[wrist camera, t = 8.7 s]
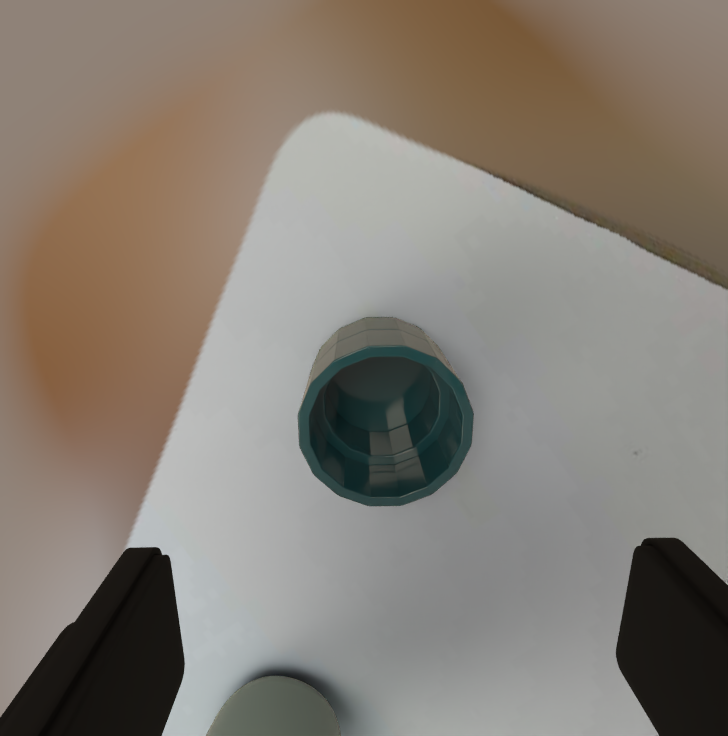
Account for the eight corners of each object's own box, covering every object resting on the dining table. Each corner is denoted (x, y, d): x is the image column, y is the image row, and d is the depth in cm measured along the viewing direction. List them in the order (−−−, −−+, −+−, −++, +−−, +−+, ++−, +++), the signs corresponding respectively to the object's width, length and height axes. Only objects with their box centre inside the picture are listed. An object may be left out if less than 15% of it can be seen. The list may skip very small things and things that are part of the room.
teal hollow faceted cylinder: (379, 285, 21) (386, 307, 16) (472, 380, 22) (508, 428, 17) (283, 382, 22) (261, 431, 17) (378, 465, 24) (384, 535, 18)
